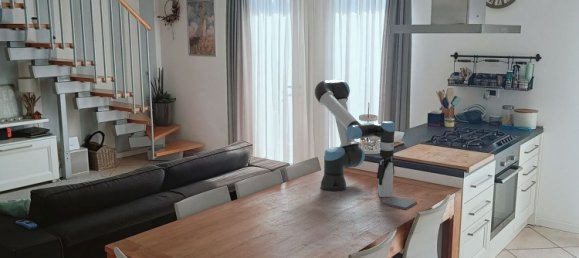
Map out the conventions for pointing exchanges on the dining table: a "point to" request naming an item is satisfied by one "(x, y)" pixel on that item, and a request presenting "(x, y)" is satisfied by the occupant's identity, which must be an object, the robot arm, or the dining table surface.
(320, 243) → the dining table surface
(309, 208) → the dining table surface
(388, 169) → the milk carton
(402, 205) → the slate board
